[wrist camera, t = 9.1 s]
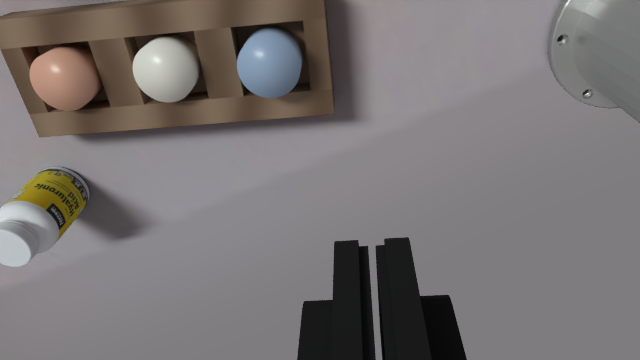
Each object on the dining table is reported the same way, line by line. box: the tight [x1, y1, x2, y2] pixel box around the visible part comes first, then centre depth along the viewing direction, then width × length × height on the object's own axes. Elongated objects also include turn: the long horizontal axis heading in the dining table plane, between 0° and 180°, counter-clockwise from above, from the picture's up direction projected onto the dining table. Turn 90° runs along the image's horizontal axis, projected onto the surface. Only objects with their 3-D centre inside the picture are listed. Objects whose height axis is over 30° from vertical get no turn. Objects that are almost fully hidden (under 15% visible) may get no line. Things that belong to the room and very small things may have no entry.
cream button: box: [133, 33, 203, 103], centre depth 39 cm, size 5×5×3 cm
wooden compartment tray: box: [0, 0, 335, 137], centre depth 40 cm, size 26×10×3 cm, turn 96°
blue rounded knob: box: [237, 26, 303, 98], centre depth 38 cm, size 5×5×3 cm
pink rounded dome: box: [30, 43, 104, 111], centre depth 40 cm, size 5×5×3 cm
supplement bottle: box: [0, 167, 90, 267], centre depth 44 cm, size 5×5×10 cm
